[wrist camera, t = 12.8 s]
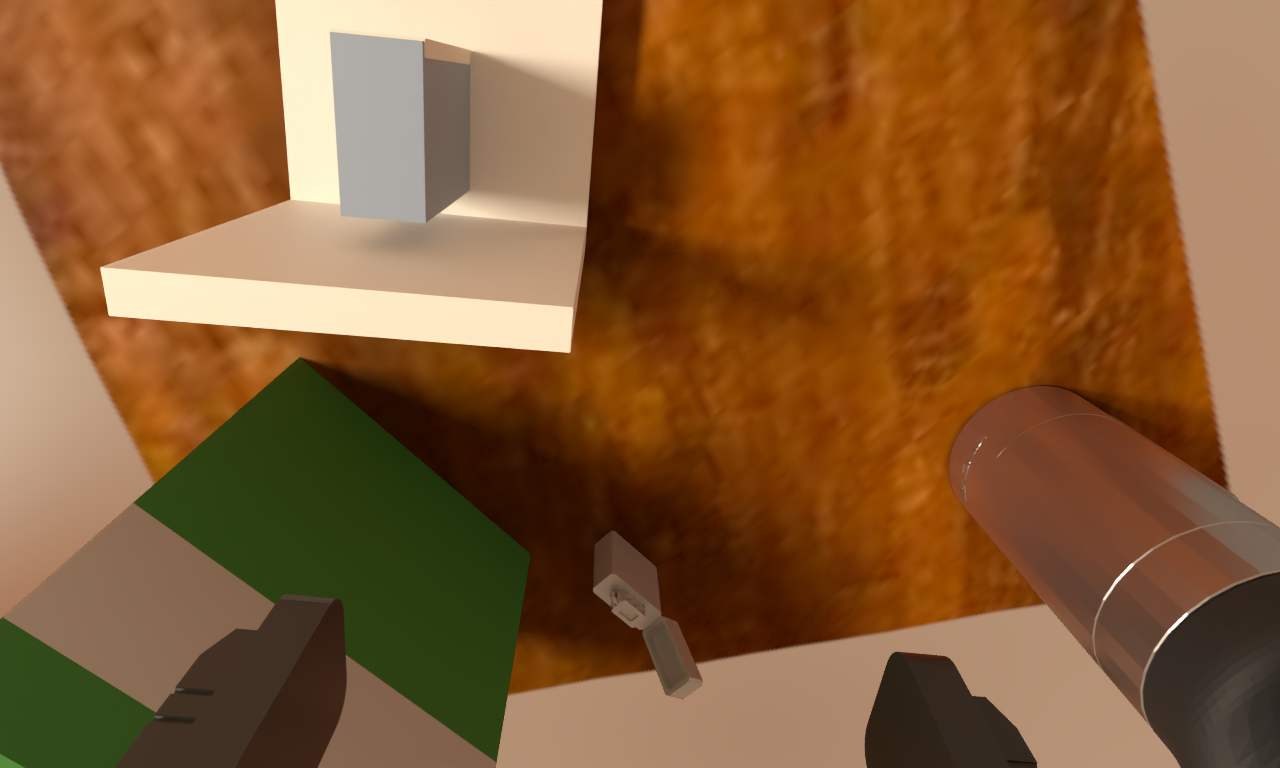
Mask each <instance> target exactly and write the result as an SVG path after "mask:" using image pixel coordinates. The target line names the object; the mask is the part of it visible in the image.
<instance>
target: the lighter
mask: <svg viewBox="0 0 1280 768" xmlns="http://www.w3.org/2000/svg"><path fill="white" fill-rule="evenodd" d="M593 592H594V593H595V594H596V595H597V596H599V597H600V598H601V599H602V600H603V601H605V602H606V603H607V604H608V605H610V606H611V612H613V613H614V614H615V615H616V616H618V617H619V618H620V619H621V620H623V621H624V622H625V623H626V624H627V625H629V626H630V627H631V628H634V627H636V628H638V629H639V630H643V633H642V635H643V638H644V640H645V643H646V645H647V648H648V650H649V653H650V656H651V658H652V661H653V663H654V666H655V668H656V671H657V674H658V676H659V678H660V681H661V684H662V686H663V689H664V692H665V694H666V695H668V696H672V697H676V698H679V699H684V698H685V697H687V696H688V695H690V694H691V693H692V692H693V691H695V690H696V689H698V688H699V687H700V686H702V682H703V680H702V678H701V676H700V673H699V671H698V669H697V666H696V664H695V662H694V659H693V657H692V655H691V652H690V650H689V648H688V646H687V643H686V641H685V639H684V636H683V634H682V632H681V629H680V627H679V625H678V623H677V621H674V620H671V619H669V618H666V617H663V616H661V605H660V595H659V585H658V576H657V567H656V566H655V565H653V564H652V563H651V562H650V561H649V560H648V559H646V558H645V557H644V556H643V555H642V554H641V553H640V552H638V551H637V550H636V549H635V548H634V547H633V546H631V545H630V544H629V543H628V542H627V541H626V540H625V539H623V538H622V537H621V536H620V535H619V534H618V533H616V532H615V531H610V532H609V533H608V534H606V535H605V536H604V537H603V538H602V539H600V540H599V541H598V542H597V543H596V544H595V545H594V578H593Z"/></svg>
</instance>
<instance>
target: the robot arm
mask: <svg viewBox="0 0 1280 768" xmlns="http://www.w3.org/2000/svg"><path fill="white" fill-rule="evenodd" d="M949 478H950V482H951V485H952V488H953V491H954V493H955V495H956V496H957V498H958V499H959V501H960V502H961V504H962V505H963V506H964V507H965V508H966V510H967V511H968V512H969V513H970V514H971V516H972V517H973V518H974V519H975V520H976V521H977V523H978V524H979V525H980V526H981V527H982V529H983V530H984V531H985V532H986V533H987V534H988V536H989V537H990V538H991V540H992V541H993V542H994V543H995V544H996V546H997V547H998V548H999V549H1000V550H1001V551H1002V553H1003V554H1004V555H1005V556H1006V557H1007V559H1008V560H1009V561H1010V562H1011V563H1012V564H1013V566H1014V567H1015V568H1016V569H1017V570H1018V571H1019V573H1020V574H1021V575H1022V576H1023V577H1024V579H1025V580H1026V581H1027V582H1028V583H1029V584H1030V586H1031V587H1032V588H1033V589H1034V590H1035V591H1036V593H1037V594H1038V595H1039V596H1040V597H1041V599H1042V600H1043V601H1044V602H1045V603H1046V604H1047V606H1048V607H1049V608H1050V609H1051V610H1052V611H1053V613H1054V614H1055V615H1056V616H1057V617H1058V619H1060V621H1061V622H1062V623H1063V624H1064V626H1065V627H1066V628H1067V629H1068V630H1069V631H1070V633H1071V634H1072V635H1073V636H1074V637H1075V639H1076V640H1077V641H1078V642H1079V643H1080V644H1081V646H1082V647H1083V648H1084V649H1085V650H1086V652H1087V653H1088V654H1089V655H1090V656H1091V657H1092V658H1093V660H1094V661H1095V662H1096V663H1097V664H1098V665H1099V667H1100V668H1101V669H1102V670H1103V671H1104V673H1105V674H1106V675H1107V676H1108V677H1109V678H1110V680H1111V681H1112V682H1113V683H1114V684H1115V685H1116V686H1117V688H1118V689H1119V690H1120V691H1121V692H1122V694H1123V695H1124V696H1125V697H1126V698H1127V699H1128V701H1129V702H1130V703H1131V704H1132V705H1133V707H1134V708H1135V709H1136V710H1137V711H1138V712H1139V713H1140V715H1141V716H1142V717H1143V718H1144V720H1145V721H1146V722H1147V723H1148V724H1149V725H1150V726H1151V728H1152V729H1153V731H1154V732H1155V733H1156V734H1157V735H1158V737H1159V738H1160V739H1161V740H1162V741H1163V743H1164V744H1165V745H1166V746H1167V748H1168V749H1169V750H1170V751H1171V753H1172V754H1173V755H1174V757H1175V758H1176V760H1177V761H1178V763H1179V765H1180V767H1181V768H1280V528H1279V527H1277V526H1276V525H1275V524H1273V523H1272V522H1270V521H1268V520H1267V519H1266V518H1264V517H1262V516H1261V515H1259V514H1258V513H1256V512H1255V511H1253V510H1252V509H1250V508H1249V507H1247V506H1246V505H1244V504H1243V503H1241V502H1240V501H1239V500H1238V498H1237V497H1236V496H1235V495H1234V494H1232V493H1231V492H1229V491H1228V490H1226V489H1225V488H1223V487H1222V486H1220V485H1218V484H1217V483H1215V482H1214V481H1212V480H1211V479H1209V478H1208V477H1206V476H1205V475H1203V474H1202V473H1200V472H1199V471H1197V470H1196V469H1194V468H1192V467H1191V466H1189V465H1188V464H1186V463H1185V462H1183V461H1182V460H1180V459H1179V458H1177V457H1176V456H1174V455H1173V454H1171V453H1169V452H1168V451H1166V450H1165V449H1163V448H1162V447H1160V446H1159V445H1157V444H1156V443H1154V442H1153V441H1151V440H1150V439H1148V438H1147V437H1145V436H1143V435H1142V434H1140V433H1139V432H1137V431H1136V430H1134V429H1133V428H1131V427H1130V426H1128V425H1127V424H1125V423H1124V422H1122V421H1120V420H1119V419H1117V418H1116V417H1114V416H1112V415H1108V414H1106V413H1105V412H1103V411H1102V410H1100V409H1099V408H1097V407H1096V406H1094V405H1092V404H1091V403H1089V402H1088V401H1086V400H1085V399H1083V398H1082V397H1080V396H1078V395H1077V394H1075V393H1074V392H1072V391H1069V390H1065V389H1062V388H1059V387H1052V386H1034V387H1025V388H1021V389H1018V390H1015V391H1011V392H1008V393H1006V394H1004V395H1002V396H1000V397H998V398H996V399H994V400H992V401H991V402H990V403H988V404H987V405H985V406H984V407H983V408H981V409H980V410H979V411H978V412H977V413H976V414H975V415H974V416H973V417H972V418H971V419H970V420H969V421H968V422H967V423H966V424H965V426H964V427H963V429H962V430H961V432H960V433H959V435H958V437H957V439H956V441H955V444H954V446H953V448H952V451H951V456H950V462H949ZM346 687H347V669H346V648H345V626H344V608H343V604H342V601H341V600H340V599H336V598H325V597H315V596H304V595H293V594H285V595H283V596H282V597H281V598H280V599H279V600H278V601H277V602H276V604H275V605H274V607H273V608H272V610H271V611H270V612H269V614H268V615H267V617H266V618H265V620H264V621H263V623H262V624H261V625H260V627H259V628H258V630H248V629H237V628H236V629H235V630H234V631H232V632H231V633H229V634H228V635H227V636H225V637H224V638H223V639H221V640H220V641H218V642H217V643H216V644H214V645H213V646H211V647H210V648H209V649H207V650H206V651H204V652H203V653H202V654H200V655H199V657H198V658H197V659H196V661H195V662H194V663H193V665H192V666H191V667H190V669H189V670H188V671H187V673H186V674H185V675H184V676H183V678H182V679H181V680H180V682H179V683H178V684H177V686H176V688H175V692H174V694H170V695H169V696H168V698H167V699H166V700H165V701H164V703H163V704H162V705H161V707H160V708H159V709H158V711H157V712H156V713H155V717H154V720H153V721H152V722H149V723H148V724H147V725H146V726H145V728H144V729H143V730H142V732H141V733H140V734H139V736H138V737H137V738H136V740H135V741H134V742H133V744H132V745H131V746H130V748H129V749H128V750H127V751H126V753H125V754H124V755H123V757H122V758H121V759H120V761H119V762H118V763H117V765H116V766H115V767H114V768H318V766H319V764H320V762H321V760H322V757H323V755H324V753H325V751H326V749H327V747H328V744H329V742H330V740H331V738H332V736H333V734H334V732H335V729H336V727H337V725H338V722H339V719H340V716H341V713H342V709H343V705H344V701H345V695H346ZM865 758H866V765H867V768H1037V762H1036V760H1035V758H1034V757H1033V755H1032V753H1031V751H1030V750H1029V748H1028V746H1027V745H1026V743H1025V741H1024V739H1023V738H1022V736H1021V734H1020V733H1019V731H1018V729H1017V728H1016V727H1015V726H1014V725H1013V724H1012V723H1011V722H1010V721H1009V720H1008V719H1007V718H1006V717H1005V716H1004V715H1003V714H1002V713H1001V712H1000V711H999V710H998V709H997V708H996V707H995V706H994V705H993V704H992V703H991V702H990V701H989V700H988V699H987V698H986V697H976V696H972V695H971V694H970V692H969V690H968V688H967V686H966V684H965V683H964V681H963V679H962V677H961V675H960V673H959V672H958V670H957V668H956V666H955V665H954V663H953V662H952V661H951V660H950V659H949V658H948V657H945V656H937V655H927V654H916V653H905V652H895V653H893V654H892V655H891V656H890V658H889V660H888V662H887V665H886V668H885V671H884V674H883V677H882V681H881V684H880V687H879V690H878V693H877V696H876V699H875V703H874V705H873V709H872V712H871V715H870V718H869V721H868V724H867V728H866V734H865Z"/></svg>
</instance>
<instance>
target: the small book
mask: <svg viewBox="0 0 1280 768" xmlns="http://www.w3.org/2000/svg"><path fill="white" fill-rule="evenodd" d="M330 46H331V63H332V79H333V96H334V112H335V128H336V145H337V161H338V178H339V194H340V210H341V216H346V217H358V218H370V219H382V220H394V221H406V222H418V223H427V222H428V221H429V220H431V219H432V218H433V217H435V216H436V215H437V214H439V213H440V212H441V211H443V210H444V209H445V208H447V207H448V206H449V205H451V204H452V203H453V202H455V201H456V200H457V199H459V198H460V197H461V196H463V195H464V194H466V193H467V192H468V191H470V65H471V50H468V49H464V48H460V47H457V46H453V45H449V44H445V43H441V42H438V41H434V40H430V39H426V38H418V37H408V36H398V35H388V34H378V33H369V32H359V31H349V30H339V29H330Z"/></svg>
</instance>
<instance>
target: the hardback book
mask: <svg viewBox="0 0 1280 768" xmlns="http://www.w3.org/2000/svg"><path fill="white" fill-rule="evenodd" d="M530 558H531V554H530V553H529V552H528V551H527V550H525V549H524V548H523V547H522V546H521V545H519V544H518V543H517V542H516V541H515V540H514V539H512V538H511V537H510V536H509V535H508V534H507V533H505V532H504V531H503V530H502V529H501V528H500V527H498V526H497V525H496V524H495V523H494V522H492V521H491V520H490V519H489V518H488V517H487V516H485V515H484V514H483V513H482V512H481V511H480V510H478V509H477V508H476V507H475V506H474V505H473V504H471V503H470V502H469V501H468V500H467V499H465V498H464V497H463V496H462V495H461V494H460V493H458V492H457V491H456V490H455V489H454V488H453V487H451V486H450V485H449V484H448V483H447V482H446V481H444V480H443V479H442V478H441V477H440V476H438V475H437V474H436V473H435V472H434V471H433V470H431V469H430V468H429V467H428V466H427V465H426V464H424V463H423V462H422V461H421V460H420V459H419V458H417V457H416V456H415V455H414V454H413V453H411V452H410V451H409V450H408V449H407V448H406V447H404V446H403V445H402V444H401V443H400V442H399V441H397V440H396V439H395V438H394V437H393V436H392V435H390V434H389V433H388V432H387V431H386V430H384V429H383V428H382V427H381V426H380V425H379V424H377V423H376V422H375V421H374V420H373V419H372V418H370V417H369V416H368V415H367V414H366V413H365V412H363V411H362V410H361V409H360V408H359V407H357V406H356V405H355V404H354V403H353V402H352V401H350V400H349V399H348V398H347V397H346V396H345V395H343V394H342V393H341V392H340V391H339V390H338V389H336V388H335V387H334V386H333V385H332V384H330V383H329V382H328V381H327V380H326V379H325V378H323V377H322V376H321V375H320V374H319V373H318V372H316V371H315V370H314V369H313V368H312V367H311V366H309V365H308V364H307V363H306V362H305V361H303V360H302V359H301V358H300V357H299V358H298V359H297V360H296V361H295V362H294V363H293V364H291V365H290V366H289V367H288V368H287V369H286V370H285V371H283V372H282V373H281V374H280V375H279V376H278V377H277V378H275V379H274V380H273V381H272V382H271V383H270V384H269V385H267V386H266V387H265V388H264V389H263V390H262V391H261V392H259V393H258V394H257V395H256V396H255V397H254V398H253V399H251V400H250V401H249V402H248V403H247V404H246V405H245V406H243V407H242V408H241V409H240V410H239V411H238V412H237V413H235V414H234V415H233V416H232V417H231V418H230V419H229V420H227V421H226V422H225V423H224V424H223V425H222V426H221V427H219V428H218V429H217V430H216V431H215V432H214V433H213V434H211V435H210V436H209V437H208V438H207V439H206V440H205V441H203V442H202V443H201V444H200V445H199V446H198V447H197V448H195V449H194V450H193V451H192V452H191V453H190V454H189V455H187V456H186V457H185V458H184V459H183V460H182V461H181V462H179V463H178V464H177V465H176V466H175V467H174V468H173V469H171V470H170V471H169V472H168V473H167V474H166V475H165V476H163V477H162V478H161V479H160V480H159V481H158V482H157V483H155V484H154V485H153V486H152V487H151V488H150V489H149V490H147V491H146V492H145V493H144V494H143V495H142V496H141V497H139V498H138V499H137V500H136V501H135V502H134V503H133V504H131V506H129V507H128V508H127V509H126V510H125V511H123V512H122V513H121V514H120V515H119V516H118V517H117V518H115V519H114V520H113V521H112V522H111V523H110V524H109V525H107V526H106V527H105V528H104V529H103V530H102V531H101V532H99V533H98V534H97V535H96V536H95V537H94V538H92V539H91V540H90V541H89V542H88V543H87V544H86V545H84V547H82V548H81V549H80V550H79V551H78V552H76V553H75V554H74V555H73V556H72V557H71V558H70V559H68V560H67V561H66V562H65V563H64V564H63V565H62V566H60V567H59V568H58V569H57V570H56V571H55V572H54V573H52V574H51V575H50V576H49V577H48V578H47V579H46V580H44V581H43V582H42V583H41V584H40V585H39V586H38V587H37V588H35V589H34V590H33V591H32V592H31V593H30V594H28V595H27V596H26V597H25V598H24V599H23V600H22V601H21V602H19V603H18V604H17V605H16V606H15V607H14V608H12V609H11V610H10V611H9V612H8V613H7V614H6V615H4V616H3V617H2V618H1V619H0V768H114V767H115V766H116V765H117V763H118V762H119V761H120V759H121V758H122V757H123V755H124V754H125V753H126V751H127V750H128V749H129V748H130V746H131V745H132V744H133V742H134V741H135V740H136V738H137V737H138V736H139V734H140V733H141V732H142V730H143V729H144V728H145V726H146V725H147V724H148V723H149V722H152V721H153V720H154V717H155V713H156V712H157V711H158V709H159V708H160V707H161V705H162V704H163V703H164V701H165V700H166V699H167V698H168V696H169V695H170V694H174V692H175V688H176V686H177V684H178V683H179V682H180V680H181V679H182V678H183V676H184V675H185V674H186V673H187V671H188V670H189V669H190V667H191V666H192V665H193V663H194V662H195V661H196V659H197V658H198V657H199V655H200V654H202V653H203V652H204V651H206V650H207V649H209V648H210V647H211V646H213V645H214V644H216V643H217V642H218V641H220V640H221V639H223V638H224V637H225V636H227V635H228V634H229V633H231V632H232V631H234V630H235V629H236V628H237V629H248V630H258V628H259V627H260V625H261V624H262V623H263V621H264V620H265V618H266V617H267V615H268V614H269V612H270V611H271V610H272V608H273V607H274V605H275V604H276V602H277V601H278V600H279V599H280V598H281V597H282V596H283V595H285V594H293V595H304V596H315V597H325V598H336V599H340V600H341V601H342V604H343V608H344V626H345V648H346V669H347V687H346V695H345V701H344V705H343V709H342V713H341V716H340V719H339V722H338V725H337V727H336V729H335V732H334V734H333V736H332V738H331V740H330V742H329V744H328V747H327V749H326V751H325V753H324V755H323V757H322V760H321V762H320V764H319V766H318V768H496V762H497V755H498V750H499V744H500V738H501V732H502V726H503V720H504V714H505V708H506V701H507V696H508V690H509V684H510V678H511V672H512V666H513V660H514V654H515V648H516V642H517V636H518V630H519V624H520V618H521V612H522V606H523V600H524V594H525V588H526V582H527V576H528V570H529V564H530Z"/></svg>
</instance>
